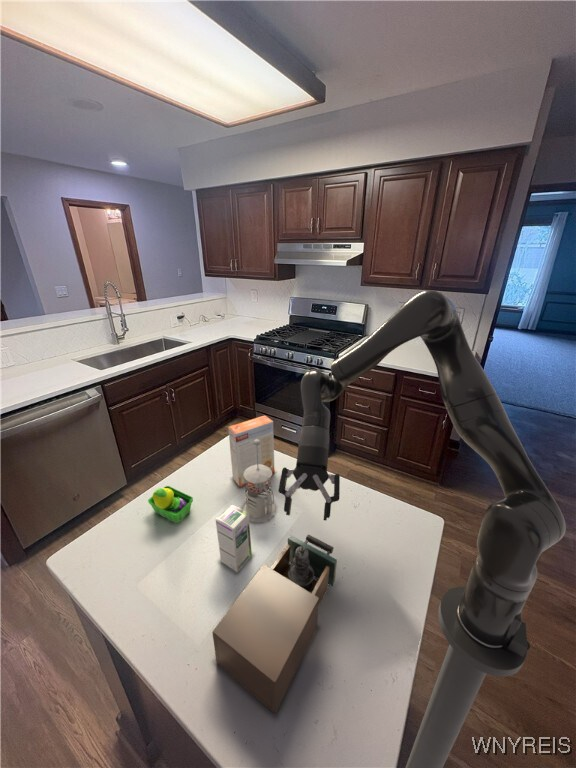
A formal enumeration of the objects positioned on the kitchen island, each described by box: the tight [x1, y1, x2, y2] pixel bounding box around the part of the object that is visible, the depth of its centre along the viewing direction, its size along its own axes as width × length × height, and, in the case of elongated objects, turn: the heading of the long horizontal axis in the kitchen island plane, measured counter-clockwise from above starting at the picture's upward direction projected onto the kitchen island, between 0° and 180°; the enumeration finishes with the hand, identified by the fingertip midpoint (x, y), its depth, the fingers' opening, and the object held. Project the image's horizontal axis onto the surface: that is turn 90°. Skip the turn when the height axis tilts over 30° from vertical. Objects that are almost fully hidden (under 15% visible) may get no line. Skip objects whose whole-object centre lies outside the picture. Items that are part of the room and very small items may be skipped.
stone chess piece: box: [288, 546, 315, 592], centre depth 69 cm, size 6×6×12 cm
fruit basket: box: [147, 485, 194, 524], centre depth 91 cm, size 11×9×11 cm
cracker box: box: [227, 414, 275, 488], centre depth 105 cm, size 14×6×21 cm, turn 124°
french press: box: [242, 439, 276, 524], centre depth 89 cm, size 10×12×25 cm
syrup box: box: [215, 504, 253, 573], centre depth 77 cm, size 6×6×14 cm
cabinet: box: [212, 563, 320, 715], centre depth 60 cm, size 16×14×10 cm
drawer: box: [270, 534, 338, 606], centre depth 71 cm, size 19×12×8 cm, turn 148°
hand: (306, 517), depth 71 cm, fingers open, 8 cm apart
